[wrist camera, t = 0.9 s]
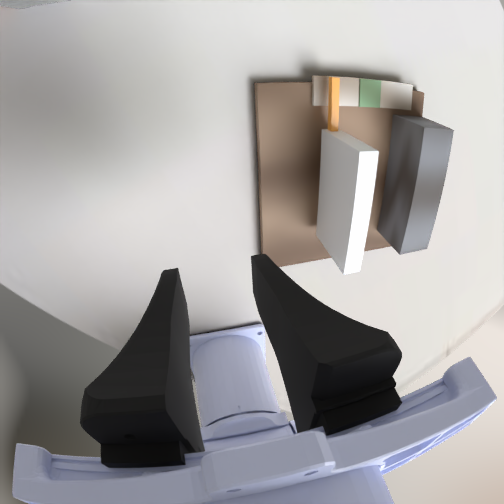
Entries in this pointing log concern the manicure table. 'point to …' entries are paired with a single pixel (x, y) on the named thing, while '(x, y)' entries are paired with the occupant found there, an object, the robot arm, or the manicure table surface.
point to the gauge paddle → (344, 190)
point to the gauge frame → (364, 129)
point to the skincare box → (26, 3)
